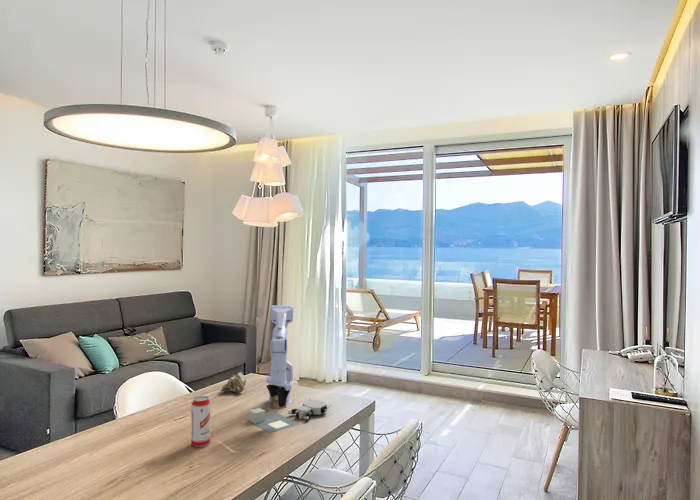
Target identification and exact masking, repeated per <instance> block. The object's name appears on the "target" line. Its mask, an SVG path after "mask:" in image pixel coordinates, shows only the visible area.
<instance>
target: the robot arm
mask: <svg viewBox="0 0 700 500" xmlns="http://www.w3.org/2000/svg"><path fill="white" fill-rule="evenodd" d="M269 309H270V310H269V314H270V315H269V319H270V321H271V322H272V323H273V324H275V326H274V328H273V329H272V337H271V340H270V345H269V350H270V359H271V361H270V363H271V365H270V372H269V374H270V376H268V377H266V383H267V385H266V389H267V390H268V395H269V397H268V398H269V399H267V402H269V403H270V397H272V396H276V395H278V400H279V407H283V406H285V403H286V405H289V404H292V403H294V401H293V400H292V399H290V398H291V397H290V395H291V393H290V392H291V390H292V384H291V382H293V381H294V380H293V379H294V368H293V364H292V362H290V361H289V360H288V359H287V355H288V345H289V344H288V342H289V341H288V337H287V336H288V326H289V324H291V323H293V321H294V306H293V305H292V304H291V305H273V304H271V306H270V308H269Z"/></svg>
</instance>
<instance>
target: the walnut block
mask: <svg viewBox="0 0 700 500" xmlns="http://www.w3.org/2000/svg"><path fill="white" fill-rule="evenodd" d="M269 408H271V409H273V410H275V411H280V410H283V409H286V408H287V404H286V403H285V406H283V407H279V400H278V395H276V396H272V397H270V402H269Z"/></svg>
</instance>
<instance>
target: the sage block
mask: <svg viewBox="0 0 700 500" xmlns="http://www.w3.org/2000/svg"><path fill="white" fill-rule="evenodd" d="M248 414H249V415H248V419H249V421H251V422H253V423H255V424H256V423H259V422H263V421H265V414H266V410H264V409H262V408H261V407H258V408H253V409H249V410H248Z"/></svg>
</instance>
